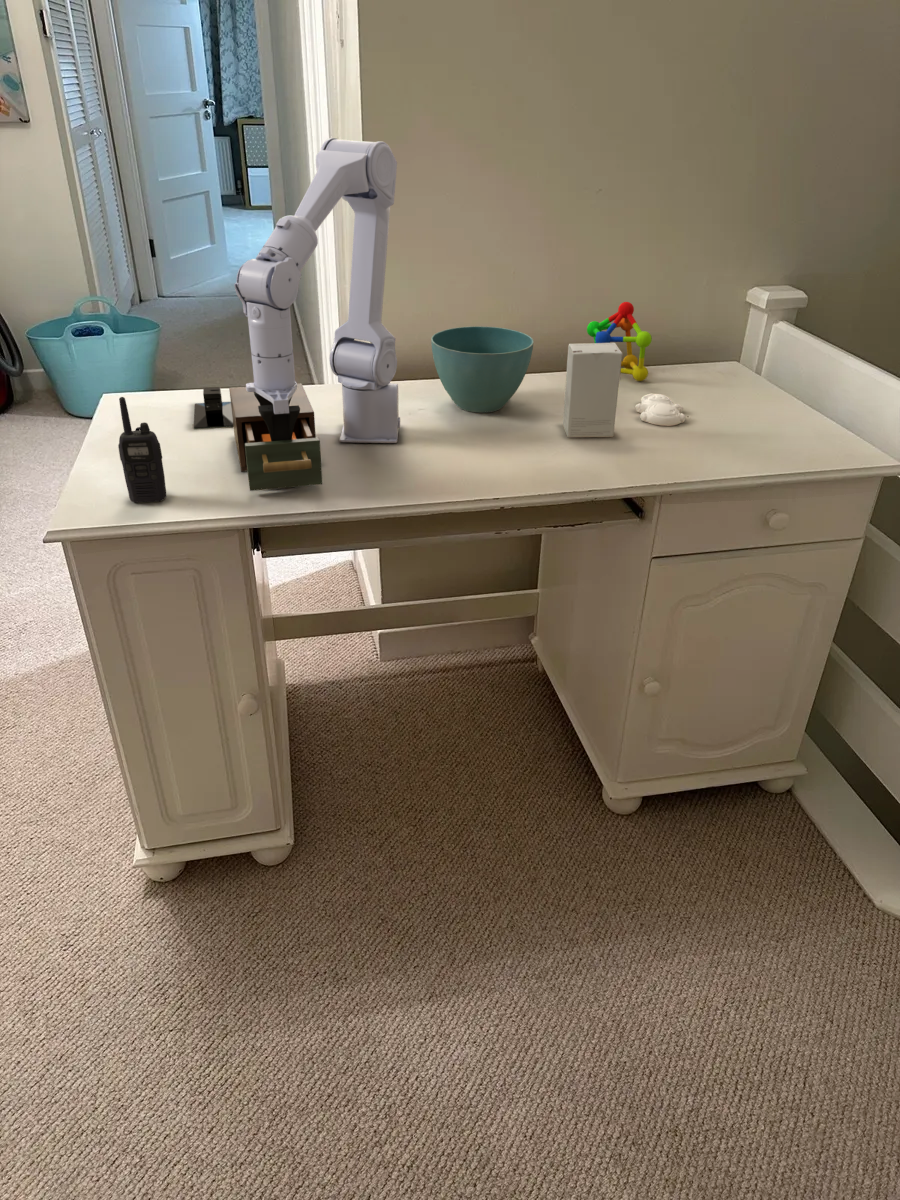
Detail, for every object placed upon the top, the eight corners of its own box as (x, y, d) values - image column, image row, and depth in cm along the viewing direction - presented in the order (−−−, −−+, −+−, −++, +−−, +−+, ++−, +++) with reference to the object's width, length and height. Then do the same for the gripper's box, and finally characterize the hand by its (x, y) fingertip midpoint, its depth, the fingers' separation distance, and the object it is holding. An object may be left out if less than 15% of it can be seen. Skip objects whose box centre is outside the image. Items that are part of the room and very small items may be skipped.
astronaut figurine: (680, 405, 162) (683, 390, 161) (685, 427, 152) (688, 411, 151) (633, 402, 163) (635, 386, 162) (635, 424, 153) (638, 407, 152)
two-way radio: (126, 505, 120) (106, 400, 112) (131, 492, 124) (112, 390, 116) (167, 503, 121) (150, 399, 113) (170, 490, 125) (154, 388, 117)
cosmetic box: (607, 426, 152) (617, 341, 144) (613, 439, 147) (625, 351, 139) (559, 426, 151) (568, 340, 144) (564, 438, 146) (573, 351, 138)
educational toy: (573, 372, 182) (578, 298, 175) (628, 369, 185) (635, 296, 178) (604, 388, 168) (610, 308, 162) (663, 384, 172) (672, 306, 165)
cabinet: (317, 465, 134) (314, 411, 129) (241, 471, 131) (235, 417, 127) (305, 433, 145) (301, 383, 141) (234, 438, 143) (229, 387, 138)
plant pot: (473, 429, 149) (476, 359, 142) (410, 401, 161) (410, 334, 154) (548, 409, 159) (554, 342, 152) (484, 384, 170) (487, 321, 164)
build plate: (236, 427, 147) (233, 401, 145) (192, 430, 146) (188, 403, 143) (234, 403, 157) (231, 378, 155) (193, 405, 156) (189, 380, 153)
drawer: (327, 498, 122) (325, 453, 118) (252, 505, 119) (248, 459, 116) (309, 451, 136) (307, 410, 133) (242, 456, 134) (238, 414, 130)
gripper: (238, 339, 124) (248, 429, 131) (247, 369, 112) (256, 466, 119) (288, 337, 126) (294, 426, 133) (301, 366, 114) (307, 462, 121)
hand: (280, 445), depth 126 cm, fingers open, 5 cm apart
